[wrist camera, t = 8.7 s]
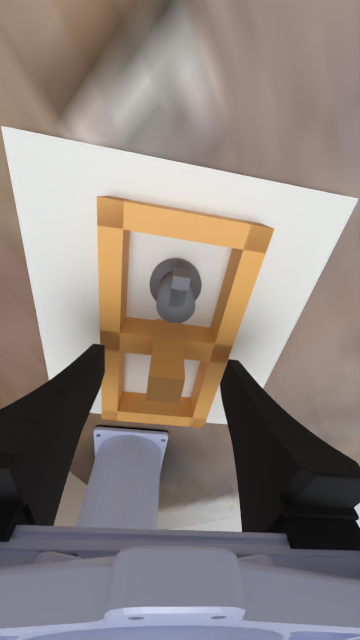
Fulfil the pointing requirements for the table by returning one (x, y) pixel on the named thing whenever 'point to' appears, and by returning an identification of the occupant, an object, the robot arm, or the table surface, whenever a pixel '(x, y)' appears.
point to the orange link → (159, 335)
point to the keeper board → (161, 251)
